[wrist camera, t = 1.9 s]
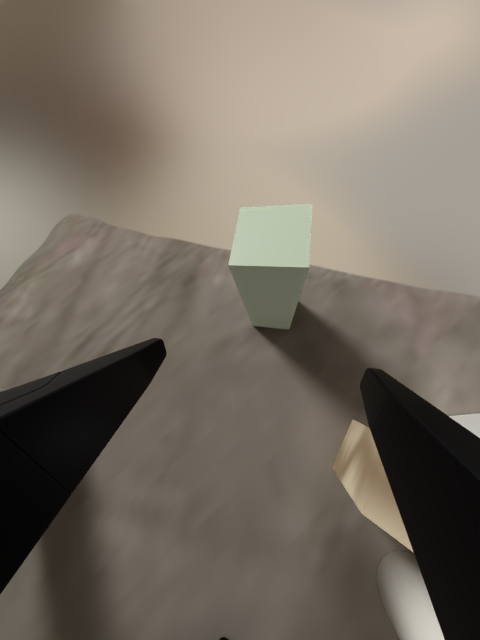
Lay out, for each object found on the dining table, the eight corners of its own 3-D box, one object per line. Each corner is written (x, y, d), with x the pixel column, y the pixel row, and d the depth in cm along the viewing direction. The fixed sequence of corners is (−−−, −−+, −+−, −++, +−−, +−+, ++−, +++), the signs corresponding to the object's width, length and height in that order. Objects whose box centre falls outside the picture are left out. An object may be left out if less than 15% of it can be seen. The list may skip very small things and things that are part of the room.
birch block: (389, 508, 15) (458, 586, 9) (332, 468, 17) (361, 513, 11) (408, 452, 16) (481, 493, 10) (352, 419, 18) (389, 438, 12)
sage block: (289, 329, 21) (309, 267, 9) (252, 325, 22) (228, 265, 10) (291, 296, 23) (312, 203, 11) (257, 294, 24) (240, 207, 12)
